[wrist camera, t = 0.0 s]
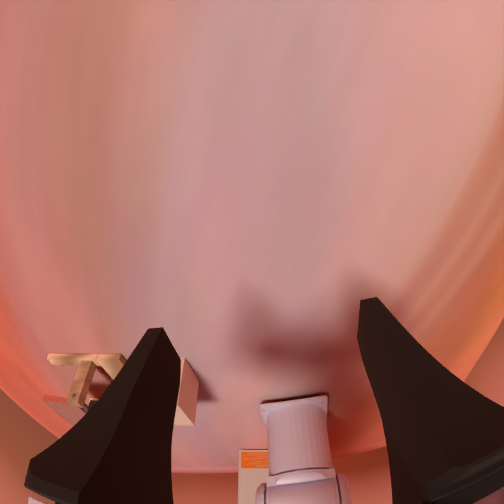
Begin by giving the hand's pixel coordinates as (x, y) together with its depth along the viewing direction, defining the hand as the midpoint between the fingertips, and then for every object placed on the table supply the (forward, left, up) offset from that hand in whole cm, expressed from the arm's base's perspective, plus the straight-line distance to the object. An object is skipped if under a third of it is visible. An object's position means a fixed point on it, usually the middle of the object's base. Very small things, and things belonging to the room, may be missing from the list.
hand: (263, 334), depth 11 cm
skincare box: (-45, +8, -11) cm, 47 cm away
